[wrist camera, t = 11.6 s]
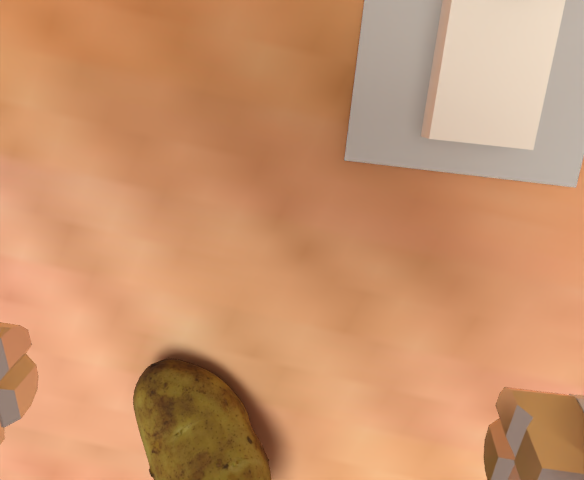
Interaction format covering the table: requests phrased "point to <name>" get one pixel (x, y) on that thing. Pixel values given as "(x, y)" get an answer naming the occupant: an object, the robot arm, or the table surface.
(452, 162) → the ridge
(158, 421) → the potato
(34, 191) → the table surface
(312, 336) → the table surface
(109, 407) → the table surface
